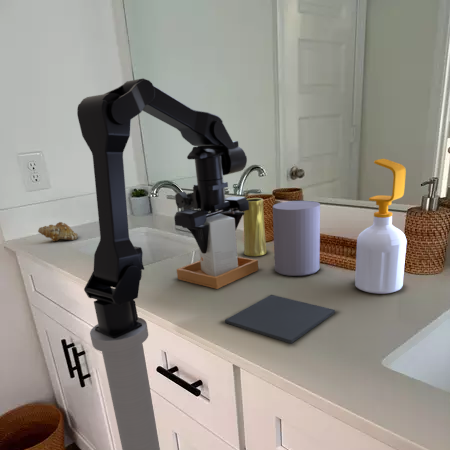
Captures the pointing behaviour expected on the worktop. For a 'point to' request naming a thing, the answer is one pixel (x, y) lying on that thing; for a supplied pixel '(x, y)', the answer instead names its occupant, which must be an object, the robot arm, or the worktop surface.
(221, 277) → the tray
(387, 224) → the soap bottle
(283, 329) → the mat
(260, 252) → the vase
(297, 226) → the container
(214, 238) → the small box
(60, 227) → the seashell
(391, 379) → the worktop surface
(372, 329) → the worktop surface
